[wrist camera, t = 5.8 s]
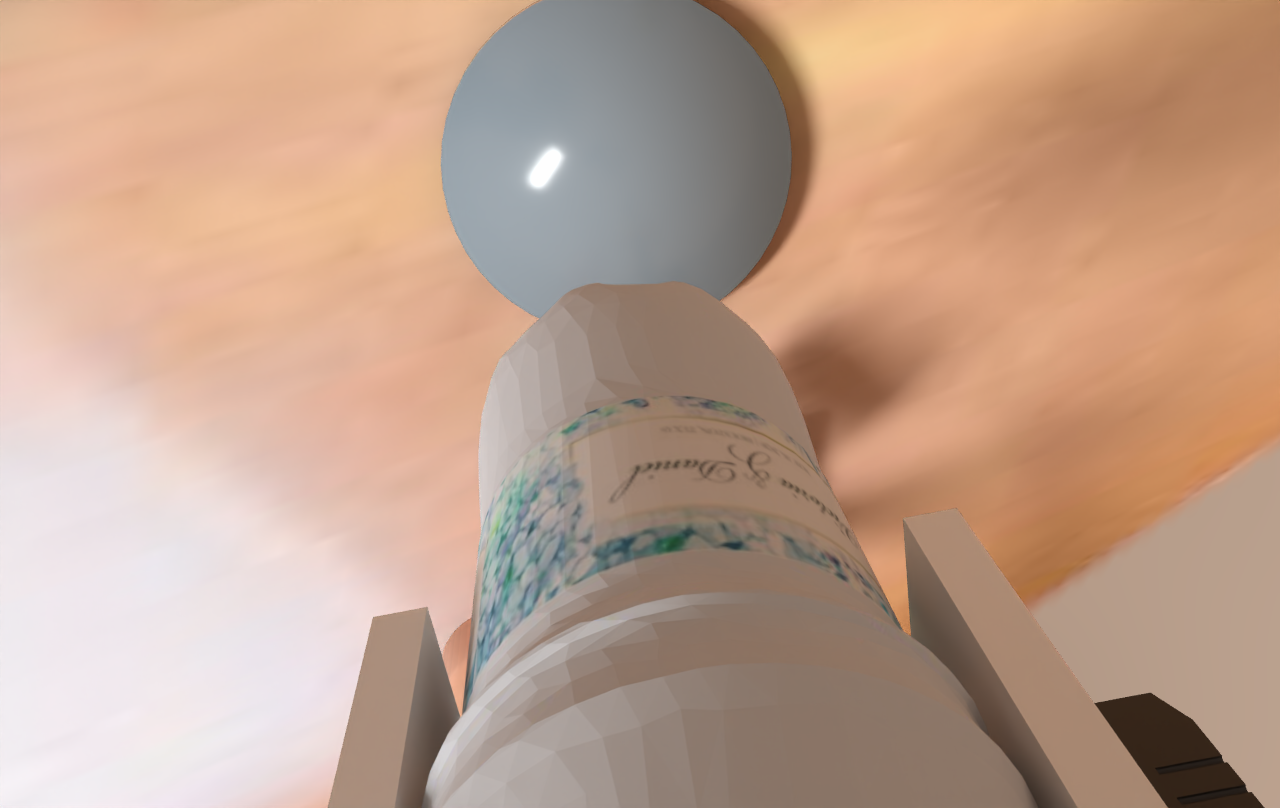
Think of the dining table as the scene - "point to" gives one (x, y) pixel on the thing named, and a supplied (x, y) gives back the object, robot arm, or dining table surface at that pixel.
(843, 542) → the bottle
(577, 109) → the dish
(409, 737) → the robot arm
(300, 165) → the dining table surface
